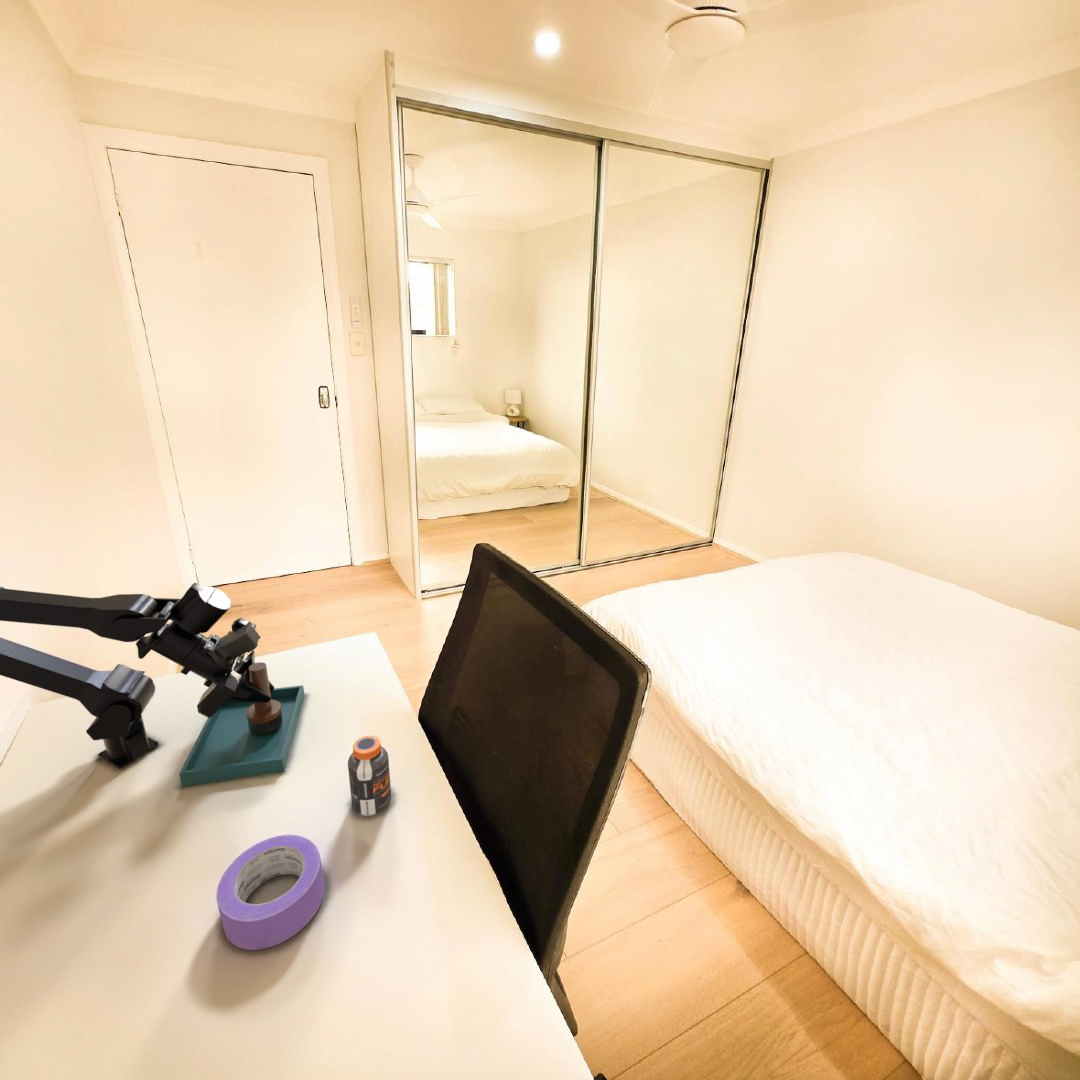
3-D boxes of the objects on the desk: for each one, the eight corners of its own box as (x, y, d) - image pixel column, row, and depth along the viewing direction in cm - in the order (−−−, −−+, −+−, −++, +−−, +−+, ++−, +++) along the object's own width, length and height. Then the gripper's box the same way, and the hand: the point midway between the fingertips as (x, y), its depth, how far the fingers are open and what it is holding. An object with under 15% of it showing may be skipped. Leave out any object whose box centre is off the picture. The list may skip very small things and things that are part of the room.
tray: (284, 771, 89) (282, 759, 88) (182, 786, 85) (178, 773, 84) (304, 695, 108) (303, 685, 107) (222, 705, 105) (219, 694, 104)
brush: (251, 739, 94) (242, 679, 90) (246, 721, 98) (237, 663, 94) (285, 727, 97) (277, 669, 93) (279, 711, 102) (271, 654, 97)
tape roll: (212, 897, 68) (205, 869, 67) (305, 845, 76) (301, 818, 74) (238, 973, 60) (231, 943, 59) (339, 906, 68) (335, 878, 66)
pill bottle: (380, 820, 80) (374, 760, 76) (344, 813, 81) (337, 754, 78) (398, 790, 86) (393, 733, 82) (364, 784, 87) (358, 727, 83)
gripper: (207, 643, 81) (294, 694, 87) (236, 592, 97) (307, 638, 104) (158, 694, 81) (248, 741, 88) (195, 635, 98) (268, 678, 105)
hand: (271, 695), depth 96 cm, fingers closed on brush, 3 cm apart
